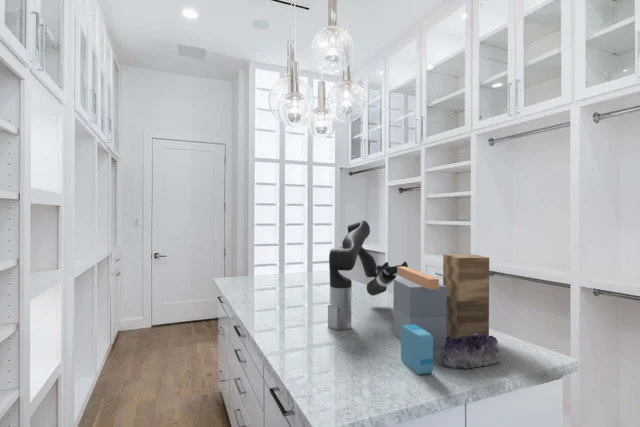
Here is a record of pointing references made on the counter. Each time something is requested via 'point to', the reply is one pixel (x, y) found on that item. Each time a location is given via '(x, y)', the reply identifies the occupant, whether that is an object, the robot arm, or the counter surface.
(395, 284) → the low stand
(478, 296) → the tall tower
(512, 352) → the counter surface
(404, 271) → the bar
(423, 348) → the blue flat block
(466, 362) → the geode
